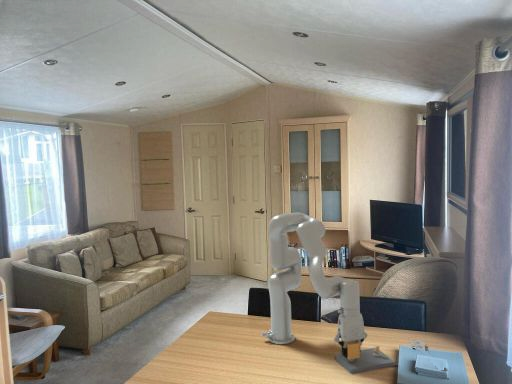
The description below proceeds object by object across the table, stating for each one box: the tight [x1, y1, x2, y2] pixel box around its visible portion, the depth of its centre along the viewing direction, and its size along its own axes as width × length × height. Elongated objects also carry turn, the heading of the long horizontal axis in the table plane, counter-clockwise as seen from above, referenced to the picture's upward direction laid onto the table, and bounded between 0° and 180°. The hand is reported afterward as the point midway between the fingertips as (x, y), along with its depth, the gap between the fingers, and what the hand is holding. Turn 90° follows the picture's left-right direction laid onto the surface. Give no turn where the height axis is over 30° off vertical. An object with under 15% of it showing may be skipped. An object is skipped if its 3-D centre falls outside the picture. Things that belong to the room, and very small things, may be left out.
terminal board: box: [333, 344, 397, 374], centre depth 167 cm, size 20×14×6 cm
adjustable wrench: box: [410, 340, 426, 349], centre depth 171 cm, size 25×6×2 cm, turn 178°
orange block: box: [346, 340, 361, 359], centre depth 165 cm, size 5×5×6 cm
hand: (351, 354), depth 165 cm, fingers closed on orange block, 4 cm apart
